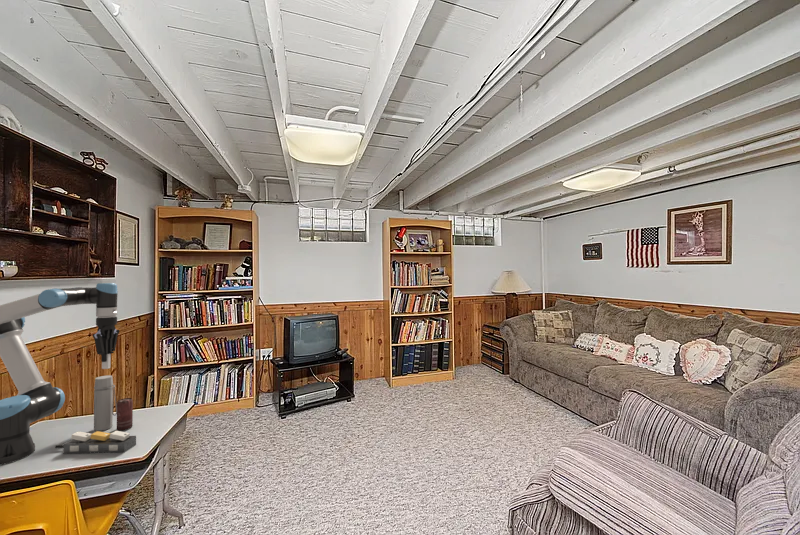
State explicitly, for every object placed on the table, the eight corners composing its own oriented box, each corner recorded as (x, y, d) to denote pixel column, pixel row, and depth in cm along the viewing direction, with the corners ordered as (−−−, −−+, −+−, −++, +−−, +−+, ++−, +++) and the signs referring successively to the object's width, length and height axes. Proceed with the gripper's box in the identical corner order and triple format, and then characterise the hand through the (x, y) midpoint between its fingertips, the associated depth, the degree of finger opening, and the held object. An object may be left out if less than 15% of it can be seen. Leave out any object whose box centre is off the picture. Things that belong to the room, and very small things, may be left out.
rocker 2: (109, 438, 152) (110, 433, 152) (115, 434, 155) (116, 430, 155) (123, 440, 152) (124, 436, 152) (128, 437, 155) (129, 433, 155)
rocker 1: (70, 438, 151) (71, 434, 151) (77, 435, 155) (78, 431, 155) (85, 441, 151) (86, 437, 152) (91, 438, 155) (92, 433, 155)
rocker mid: (90, 438, 152) (91, 434, 152) (96, 435, 155) (97, 430, 155) (104, 440, 152) (105, 436, 152) (110, 437, 155) (111, 433, 155)
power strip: (48, 454, 149) (48, 444, 149) (63, 446, 156) (63, 436, 156) (124, 452, 150) (124, 443, 150) (136, 444, 157) (136, 435, 157)
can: (124, 431, 170) (124, 402, 171) (113, 430, 172) (113, 401, 172) (136, 426, 176) (136, 397, 177) (125, 425, 178) (125, 397, 178)
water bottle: (97, 433, 169) (97, 380, 169) (90, 429, 173) (91, 377, 173) (120, 426, 177) (120, 375, 177) (113, 422, 181) (113, 373, 181)
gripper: (103, 318, 157) (103, 372, 156) (125, 315, 170) (125, 364, 169) (86, 318, 156) (85, 372, 156) (109, 315, 169) (108, 364, 169)
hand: (106, 368), depth 163 cm, fingers closed
